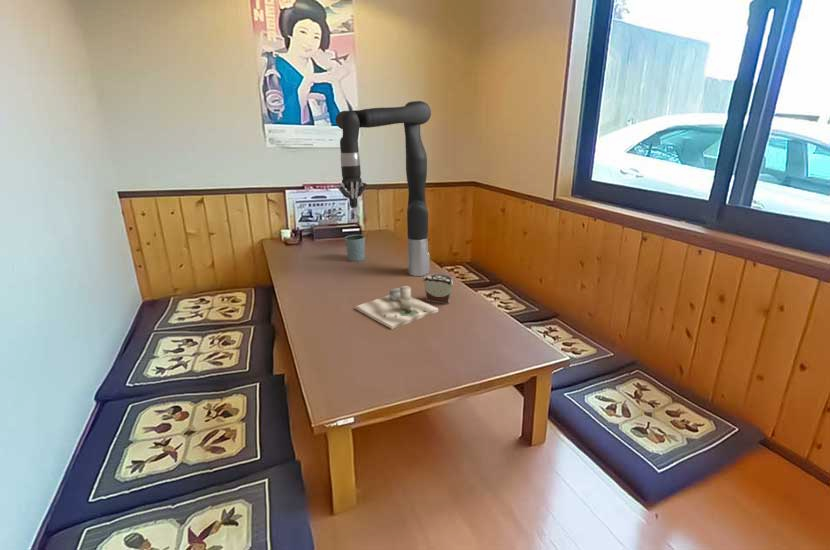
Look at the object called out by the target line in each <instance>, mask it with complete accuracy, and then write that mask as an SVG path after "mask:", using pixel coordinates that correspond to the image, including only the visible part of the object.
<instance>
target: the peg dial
mask: <svg viewBox="0 0 830 550" xmlns="http://www.w3.org/2000/svg"><path fill="white" fill-rule="evenodd" d="M389 295H390V299H391V300H393V301H399V302H400V303H401V309H402V310H406V311H407V312H408V313H409V312H411V297H412V287H411V286H408V285H403V286H401V287H395V288H391V289H390V290H389Z"/></svg>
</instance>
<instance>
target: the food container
mask: <svg viewBox="0 0 830 550" xmlns="http://www.w3.org/2000/svg"><path fill="white" fill-rule="evenodd" d="M422 282H424V290H425V298H426V301H428V302H434V303H439V304H440V303H441V304H447V305H449V304H450V298H451V290H452V286H453V285H454V282H453V278H452V277H451V276H450V275H448V274H444V273H431V274H430V273H429V274H426V275H424V276H423V279H422Z"/></svg>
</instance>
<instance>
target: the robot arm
mask: <svg viewBox="0 0 830 550" xmlns="http://www.w3.org/2000/svg"><path fill="white" fill-rule="evenodd" d="M431 115H432V109H431V107H430V105H429V104H428V103H426V102H424V101H422V100H416V101H409V102H407V103H406V104H405V105H404V106H395V107H389V106H388V107H373V108H364V109H359V110H358V109H357V110H355V109H354V110H342V111H340V112H338V113H337V115H336V116H335V124H336V126H337V127H338V128H340V129H341V130H342V136H341V138H340V140H339V145H340V146H339V147H340V148H339V149H340V167H341V168H340V169H341V177H342V179H341V184H340V185H338V186H337V189H338V190H339V192H340V193H341V194H342V196H343V197H344V198H348V199H349V201H348V202H349V207H350V208H352V209H355V208H357V207H358V197H359V198H360V197H361V196H362V195H363V192H364V191H365V189H366V186H367V183H366V182H363V181H362V178H361V175H362V172H361V171H362V170H361V159H360V152H359V151H360V150H359V135H360V129H361V128H364V129H365V128H366V129H367V128H378V127H384V126H390V125H396V124H403V127H404V128H403V129H404V135H405V137H404V138H405V142H404V143H405V172H406V182H407V187H408V198H407V200H408V201H407V208H406V217H407V218H406V220H407V221H406V222H407V258H408V259H407V260H408V261H407V263H408V265H407V266H408V267H407V268H408V275H410V276H415V277H421V276H423V277H424V276H426V275H429V274H430V272H431V271H430V270H431V269H430V268H431V267H430V266H431V265H430V261H431V259H430V252H429V249H428V248H429V241H428V240H429V212H428V208H427V203H426V193H425V192H426V184H427V177H428V176H427V174H428V157H427V151H426V150H425V146H424V144H423V141H422V136H421V125H424V124H426V123H427V122H428V121H430V119H431V117H432V116H431ZM428 273H429V274H428Z"/></svg>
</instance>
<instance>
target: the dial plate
mask: <svg viewBox="0 0 830 550" xmlns="http://www.w3.org/2000/svg"><path fill="white" fill-rule="evenodd" d="M355 310H357V311H358V312H360V313H362V314H365V315H366V316H368V317H369V318H371V319H373V320H375V321H376V322H378V323H380V324H382V325H383V326H385V327H388V328H390V330H393V329H396V328H399V327H402V326H404V325H406V324H410V323H412V322H415V321H417V320H419V319H420V320H421V319H422V318H426V317H428V316H430V315H432V314H435V313H438V312H439V308H438V307H436V306H434V305H432V304H430V303H427V302H424V301H422V300H420V299H418V298H415V297H414V296H411V312H409V313H408V312H407V311H406V310H402V309H401V303H400V302H399V301H393V300H391V299H390V294H389V295H386V296H382V297H380V298H376V299H373V300H371V301H367V302H364V303H362V304H359V305H355Z"/></svg>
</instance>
